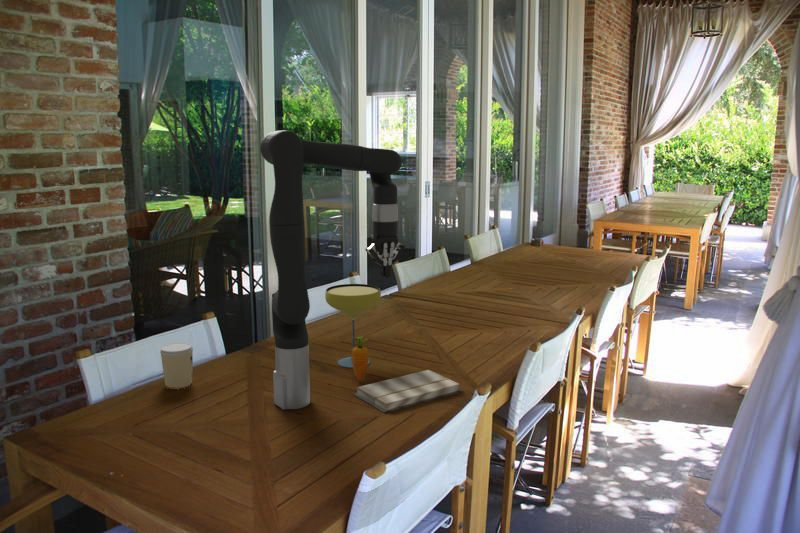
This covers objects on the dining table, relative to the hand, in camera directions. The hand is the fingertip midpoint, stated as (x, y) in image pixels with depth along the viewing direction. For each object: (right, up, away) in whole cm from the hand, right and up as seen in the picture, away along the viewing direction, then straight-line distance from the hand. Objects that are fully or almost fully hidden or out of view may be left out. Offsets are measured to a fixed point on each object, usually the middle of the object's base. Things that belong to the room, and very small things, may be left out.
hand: (385, 277), depth 197 cm
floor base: (+7, -34, -2) cm, 35 cm away
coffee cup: (-63, -33, +5) cm, 71 cm away
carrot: (-8, -32, +7) cm, 34 cm away
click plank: (+5, -33, +1) cm, 33 cm away
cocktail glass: (-11, -29, +25) cm, 40 cm away
